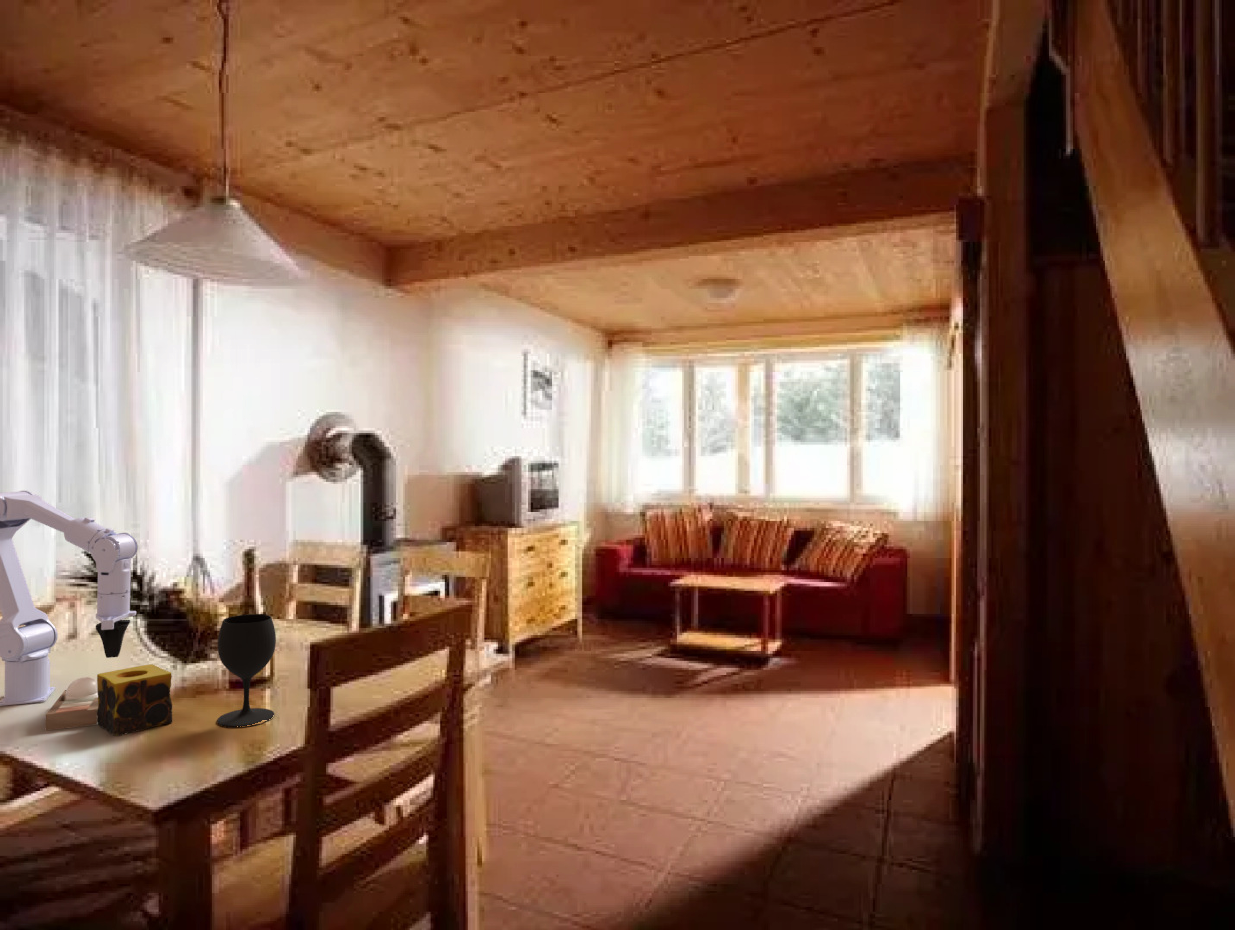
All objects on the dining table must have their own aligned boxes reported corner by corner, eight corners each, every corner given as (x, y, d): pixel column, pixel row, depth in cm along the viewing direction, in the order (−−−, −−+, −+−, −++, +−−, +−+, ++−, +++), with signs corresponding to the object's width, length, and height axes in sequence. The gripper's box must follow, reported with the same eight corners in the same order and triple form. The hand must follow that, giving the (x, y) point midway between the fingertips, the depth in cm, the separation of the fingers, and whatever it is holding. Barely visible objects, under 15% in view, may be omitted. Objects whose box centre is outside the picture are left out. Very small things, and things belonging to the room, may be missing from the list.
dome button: (69, 704, 156) (69, 675, 156) (103, 700, 158) (104, 672, 158) (62, 713, 150) (62, 683, 150) (98, 709, 153) (98, 680, 153)
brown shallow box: (64, 704, 157) (65, 689, 157) (110, 699, 160) (111, 684, 160) (45, 730, 142) (45, 713, 142) (96, 724, 146) (96, 708, 146)
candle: (173, 723, 147) (174, 672, 147) (113, 737, 140) (114, 684, 139) (153, 711, 154) (154, 662, 154) (95, 724, 146) (96, 673, 146)
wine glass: (259, 706, 158) (261, 611, 158) (284, 718, 151) (285, 618, 151) (207, 719, 150) (208, 618, 150) (230, 732, 143) (232, 627, 143)
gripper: (131, 597, 153) (129, 663, 153) (141, 585, 166) (139, 646, 166) (89, 599, 150) (88, 667, 150) (102, 586, 163) (101, 649, 163)
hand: (112, 656), depth 158 cm, fingers closed
